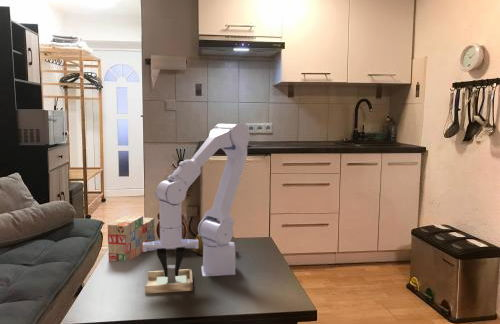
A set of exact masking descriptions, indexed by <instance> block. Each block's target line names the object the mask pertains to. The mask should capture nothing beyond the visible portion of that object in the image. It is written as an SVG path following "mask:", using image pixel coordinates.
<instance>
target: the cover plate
mask: <svg viewBox="0 0 500 324" xmlns="http://www.w3.org/2000/svg"><path fill="white" fill-rule="evenodd" d="M167 273H168V275H167V277H165V276H162V277H157V281H156V285H157V284H174V283H187V278H186V275H180V276H175V264H167Z"/></svg>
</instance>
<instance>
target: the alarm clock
mask: <svg viewBox="0 0 500 324" xmlns="http://www.w3.org/2000/svg"><path fill="white" fill-rule="evenodd" d="M156 216H157V220H158V222H157V224H156V227H155V233H156V235H157V238H158V240H160V213H159V212H158V213H157V215H156ZM181 217H182V239H186V238H187V237H188V234H189V230H190V229H189V224H188V222H187V220H186V219H187V213H186V211H185V210H184V209H181Z"/></svg>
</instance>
